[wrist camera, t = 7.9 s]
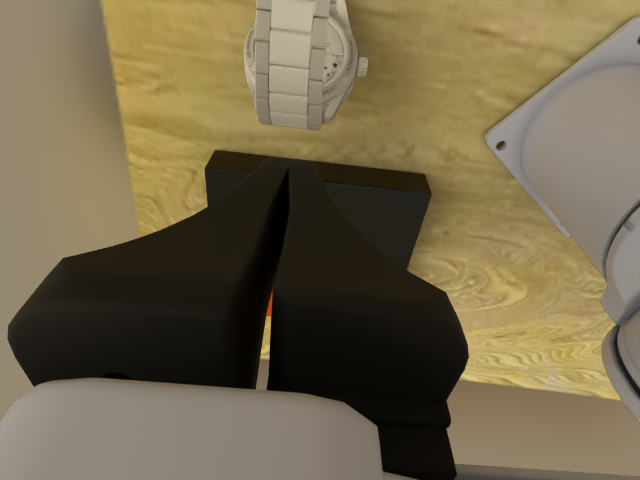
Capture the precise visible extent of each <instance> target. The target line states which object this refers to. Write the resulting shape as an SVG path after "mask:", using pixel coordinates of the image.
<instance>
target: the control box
mask: <svg viewBox="0 0 640 480" xmlns="http://www.w3.org/2000/svg"><path fill="white" fill-rule="evenodd" d="M268 157H270V156H262V155H253V154H244V153H235V152H227V151H218V150H215V151H214V153H213V155H212V156H211V158H210V160H209V162H208V163H207V165H206V167H205V179H206V191H207V202H208V207H209V206H210V205H212V204H213V203H215V202H217V201H218V200H220V199H221V198H222V197H224V196H225V195H226V194H228V193H229V192H230V191H232V190H233V189H234V188H235V187H237V186H238V185H239V184H240V183H241V182H242V181H243V180H245V179H246V178H247V177H248V176H249V175H250V174H251V173H252V172H253V171H254V170H255V169H257V168H258V167H259V166H260V165H261V164H262V163H263V162H264V161H265V160H266V159H267V158H268ZM278 158H279V157H278ZM287 159H288V158H287ZM296 160H297V159H296ZM313 162H314V161H313ZM314 163H315V165H316V167H317V170H318V173H319V175H320V177H321V180H322V182H323V184H324V186H325V187H326V189H327V191H328V193H329V194H330V196H331V198H332V199H333V201H334V202H335V204H336V205H337V207H338V208H339V210H340V211H341V212H342V214H343V215H344V216H345V218H346V219H347V220H348V221H349V223H350V224H351V225H352V226H353V227H354V228H355V229H356V230H357V231H358V232H359V233H360V234H361V235H362V236H363V237H364V238H365V239H366V240H367V241H368V242H370V243H371V244H372V245H373V246H374V247H375V248H377V249H378V250H379V251H380V252H381V253H383V254H384V255H385V256H387V257H388V258H389V259H391V260H392V261H394V262H395V263H397V264H398V265H400V266H401V267H403V268H404V269H406V270H407V267H408V264H409V261H410V258H411V255H412V252H413V249H414V246H415V243H416V240H417V237H418V234H419V231H420V228H421V225H422V222H423V219H424V216H425V213H426V210H427V207H428V204H429V201H430V198H431V195H432V193H431V190H430V187H429V185H428V182H427V179H426V176H425V174H419V173H410V172H401V171H392V170H384V169H375V168H366V167H358V166H349V165H340V164H331V163H323V162H314Z"/></svg>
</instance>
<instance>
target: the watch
mask: <svg viewBox="0 0 640 480" xmlns="http://www.w3.org/2000/svg"><path fill="white" fill-rule="evenodd" d="M256 7H257V9H258V10H257V11H256V21H255V23H254V24H253V26H252V27H251V29H250V31H249V33H248V35H247V37H246V40H245V45H244V65H245V66H244V68H245V76H246V80H247V83H248V86H249V88H250V90H251V92H252V97H253V101H254V106H255V110H256V114H257V117H258V121H259V122H260V124H266V125H274V126H283V127H291V128H299V129H309V130H317V131H321V127H322V124H330V123H331V121H332V120H333V118H334V116H335V114H336V112H337V111H338V109H339V107H340V106H341V104H343V102H345V100H346V98H348V96H349V94H350V93H351V91H352V88H353V86H354V83H355V78H356V76H359V77H365V76H366V73H367V68H368V58H366V57H359V58H358V54H357V46H356V42H355V40H354V37H353V35H352V31H351V27H350V23H349V19H348V13H347V7H346V2H345V0H257V4H256ZM357 59H358V60H357Z"/></svg>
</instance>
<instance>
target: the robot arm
mask: <svg viewBox="0 0 640 480" xmlns="http://www.w3.org/2000/svg"><path fill="white" fill-rule="evenodd" d="M639 37H640V16H637V17H634V18H633V19H631V20H630V21H628V22H627V23H626V24H624V25H623V26H622V27H621V28H619V29H618V30H617V31H615V32H614V33H613V34H612V35H610V36H609V37H608V38H607V39H605V40H604V41H603V42H601V43H600V44H599V45H598V46H596V47H595V48H594V49H592V50H591V51H590V52H589V53H587V54H586V55H585V56H584V57H582V58H581V59H580V60H578V61H577V62H576V63H575V64H573V65H572V66H571V67H569V68H568V69H567V70H566V71H564V72H563V73H562V74H561V75H559V76H558V77H557V78H555V79H554V80H553V81H552V82H550V83H549V84H548V85H546V86H545V87H544V88H543V89H541V90H540V91H539V92H537V93H536V94H535V95H534V96H532V97H531V98H530V99H529V100H527V101H526V102H525V103H523V104H522V105H521V106H520V107H518V108H517V109H516V110H514V111H513V112H512V113H511V114H509V115H508V116H507V117H506V118H504V119H503V120H502V121H500V122H499V123H498V124H497V125H495V126H494V127H493V128H491V129H490V130H489V131H488V132H487V133H486V135H485V137H484V141H485V143H486V144H487V146H488V147H489V148H490V149H491V150H492V152H493V153H494V154H495V155H496V156H497V157H498V159H499V160H500V161H501V162H502V163H503V164H504V166H505V167H506V168H507V169H508V170H509V171H510V173H511V174H512V175H513V176H514V177H515V178H516V180H517V181H518V182H519V183H520V184H521V185H522V187H523V188H524V189H525V190H526V191H527V192H528V194H529V195H530V196H531V197H532V198H533V199H534V201H535V202H536V203H537V204H538V205H539V206H540V208H541V209H542V210H543V211H544V212H545V213H546V215H547V216H548V217H549V218H550V219H551V220H552V222H553V223H554V224H555V225H556V226H557V227H558V229H559V230H560V231H561V232H562V233H563V234H564V236H566V237H569V238H571V237H572V238H573V239H574V241H575V242H576V243H577V244H578V246H579V247H580V248H581V250H582V251H583V252H584V253H585V255H586V256H587V257H588V259H589V260H590V261H591V262H592V264H593V265H594V266H595V268H596V269H597V270H598V271H599V273H600V274H601V275H602V277H603V278H604V279H605V280H606V282H607V283H608V284H607V289H606V291H605V293H604V295H603V296H602V298H601V299H600V301H599V302H600V303H601V304H602V306H603V307H604V309H605V310H606V311H607V313H608V314H609V316H610V317H611V318H612V320H613V321H614V323H615V324H616V326H614V327H613V328H612V329H611V330H610V331H609V332H608V333H607V335H606V337H605V339H604V340H603V344H602V350H601V352H602V361H603V364H604V367H605V370H606V373H607V375H608V377H609V379H610V381H611V383H612V385H613V387H614V389H615V390H616V392H617V393H618V395H619V396H620V398H621V399H622V401H623V402H624V403H625V405H626V406H627V408H628V409H629V410H630V412H631V413H632V414H633V415H634V417H635V418H636V419H637V420H638V421H639V422H640V42H639V43H638V39H639ZM501 141H504V144H503V145H502V146H501V147H496V145H497V144H498V143H499V142H501ZM272 290H273V291H272ZM271 294H272V314H271V336H270V359H269V377H268V384H267V390H256V383H257V376H258V369H259V362H260V355H261V348H262V341H263V334H264V327H265V320H266V315H267V310H268V306H269V302H270V298H271ZM8 341H9V344H10V346H11V348H12V351H13V353H14V355H15V358H16V359H17V361H18V362H19V364H20V366H21V367H22V369H23V370H24V372H25V373H26V375H27V377H28V378H29V380H30V381H31V383H32V384H33V386H34V388H33V389H32V390H30V391H28V392H27V393H26V394H24V395H23V396H21V397H20V398H18V399H17V400H15V402H14V403H13V405H12V406H11V407H10V409H9V410H8V412H7V413H6V415H5V417H4V418H3V419H2V421H1V422H0V480H640V476H628V475H612V474H599V473H584V472H569V471H554V470H539V469H524V468H509V467H495V466H479V465H464V464H455V463H454V459H453V455H452V450H451V446H450V442H449V438H448V434H447V429H446V428H448V427H449V426H450V424H451V417H450V413H449V409H448V406H447V401H446V400H447V399H448V397H449V395H450V393H451V392H452V390H453V388H454V387H455V385H456V383H457V382H458V380H459V378H460V376H461V375H462V373H463V371H464V369H465V367H466V364H467V361H468V358H469V354H468V344H467V341H466V338H465V335H464V333H463V330H462V327H461V324H460V322H459V319H458V317H457V315H456V312H455V310H454V308H453V306H452V304H451V303H450V301H449V298H448V296H447V294H446V292H444V291H443V290H441V289H439V288H437V287H435V286H433V285H432V284H430V283H428V282H426V281H424V280H423V279H421V278H419V277H417V276H415V275H413V274H412V273H410V272H409V271H407V270H406V269H404V268H403V267H401V266H400V265H398V264H397V263H395V262H394V261H392V260H391V259H389V258H388V257H387V256H385V255H384V254H383V253H381V252H380V251H379V250H378V249H377V248H375V247H374V246H373V245H372V244H371V243H370V242H368V241H367V240H366V239H365V238H364V237H363V236H362V235H361V234H360V233H359V232H358V231H357V230H356V229H355V228H354V227H353V226H352V225H351V224H350V223H349V221H348V220H347V219H346V218H345V216H344V215H343V214H342V212H341V211H340V210H339V208H338V207H337V205H336V204H335V202H334V201H333V199H332V198H331V196H330V194H329V193H328V191H327V189H326V187H325V186H324V184H323V182H322V180H321V177H320V175H319V173H318V170H317V167H316V165H315V163H314V162H313V161H306V160H296V159H287V158H278V157H268V158H267V159H266V160H265V161H264V162H263V163H262V164H261V165H260V166H259V167H258V168H257V169H255V170H254V171H253V172H252V173H251V174H250V175H249V176H248V177H247V178H246V179H245V180H243V181H242V182H241V183H240V184H239V185H238V186H237V187H235V188H234V189H233V190H232V191H230V192H229V193H228V194H226V195H225V196H224V197H222V198H221V199H220V200H218V201H217V202H215V203H213V204H212V205H210V206H209V207H207V208H205V209H203V210H202V211H200V212H198V213H196V214H195V215H193V216H191V217H189V218H186V219H184V220H182V221H180V222H178V223H175V224H173V225H171V226H169V227H167V228H164V229H162V230H160V231H157V232H154V233H152V234H149V235H146V236H143V237H140V238H137V239H134V240H131V241H128V242H125V243H122V244H119V245H115V246H111V247H107V248H103V249H99V250H95V251H92V252H87V253H83V254H79V255H75V256H70V257H66V258H63V259H62V260H61V261H60V262H59V263H58V264H57V265H56V267H55V268H54V269H53V270H52V271H51V272H50V273H49V274H48V276H47V277H46V278H45V279H44V280H43V282H42V283H41V284H40V285H39V287H38V288H37V289H36V290H35V292H34V293H33V294H32V295H31V297H30V298H29V299H28V300H27V301H26V303H25V304H24V305H23V306H22V308H21V309H20V310H19V311H18V313H17V314H16V315H15V317H14V318H13V319H12V321H11V322H10V324H9V325H8Z"/></svg>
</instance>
